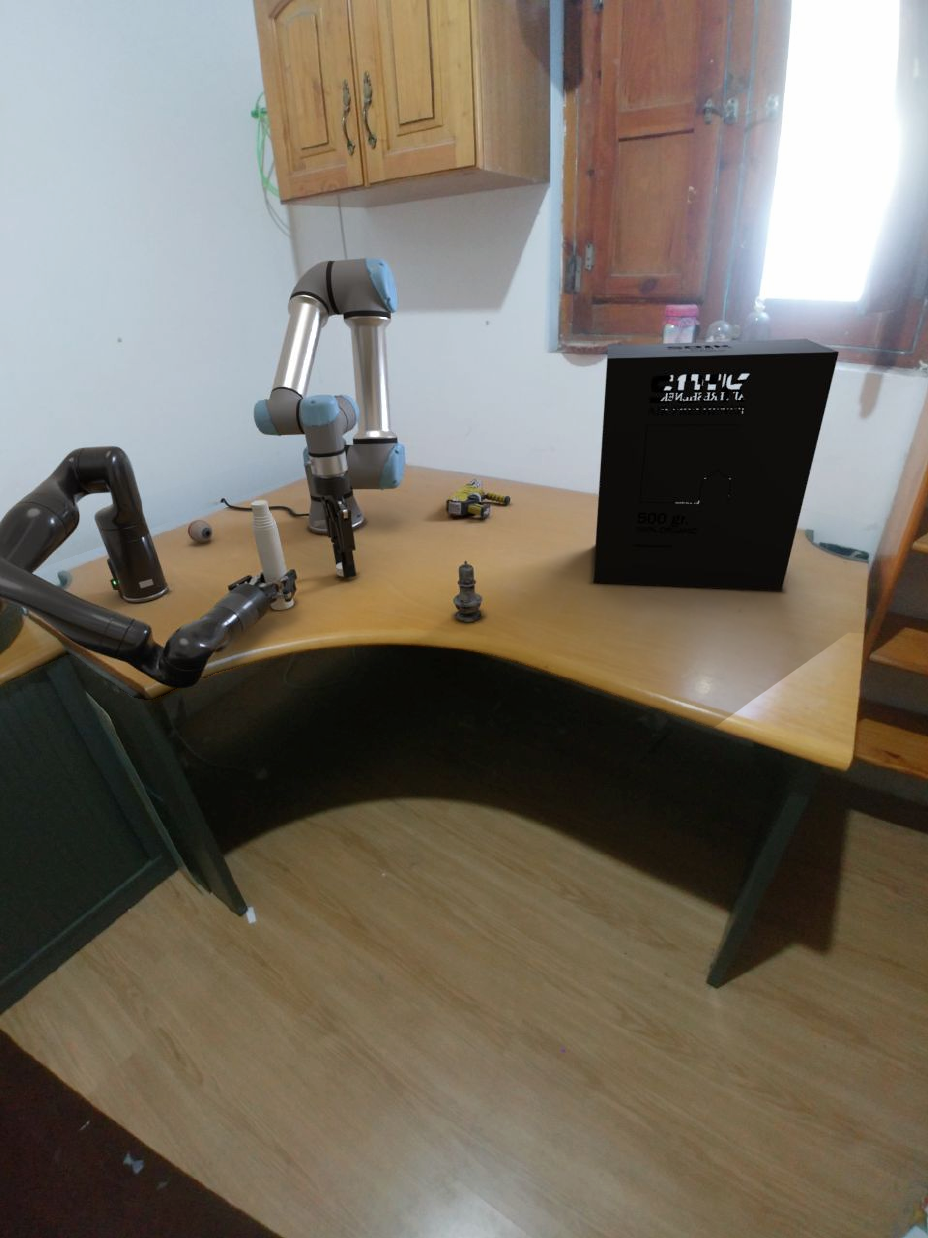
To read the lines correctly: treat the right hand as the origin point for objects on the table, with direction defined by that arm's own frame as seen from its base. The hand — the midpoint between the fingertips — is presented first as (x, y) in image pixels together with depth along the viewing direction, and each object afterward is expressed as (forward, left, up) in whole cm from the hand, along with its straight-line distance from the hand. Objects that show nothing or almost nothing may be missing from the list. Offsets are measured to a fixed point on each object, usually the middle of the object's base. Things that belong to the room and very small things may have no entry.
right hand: (346, 572), depth 140 cm
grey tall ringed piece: (+34, +10, -1) cm, 35 cm away
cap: (0, 0, +2) cm, 2 cm away
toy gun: (-15, +52, -1) cm, 54 cm away
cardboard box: (+48, +59, -1) cm, 76 cm away
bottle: (+3, -17, -1) cm, 17 cm away
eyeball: (-46, -20, -1) cm, 50 cm away
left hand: (+1, -15, +5) cm, 16 cm away
